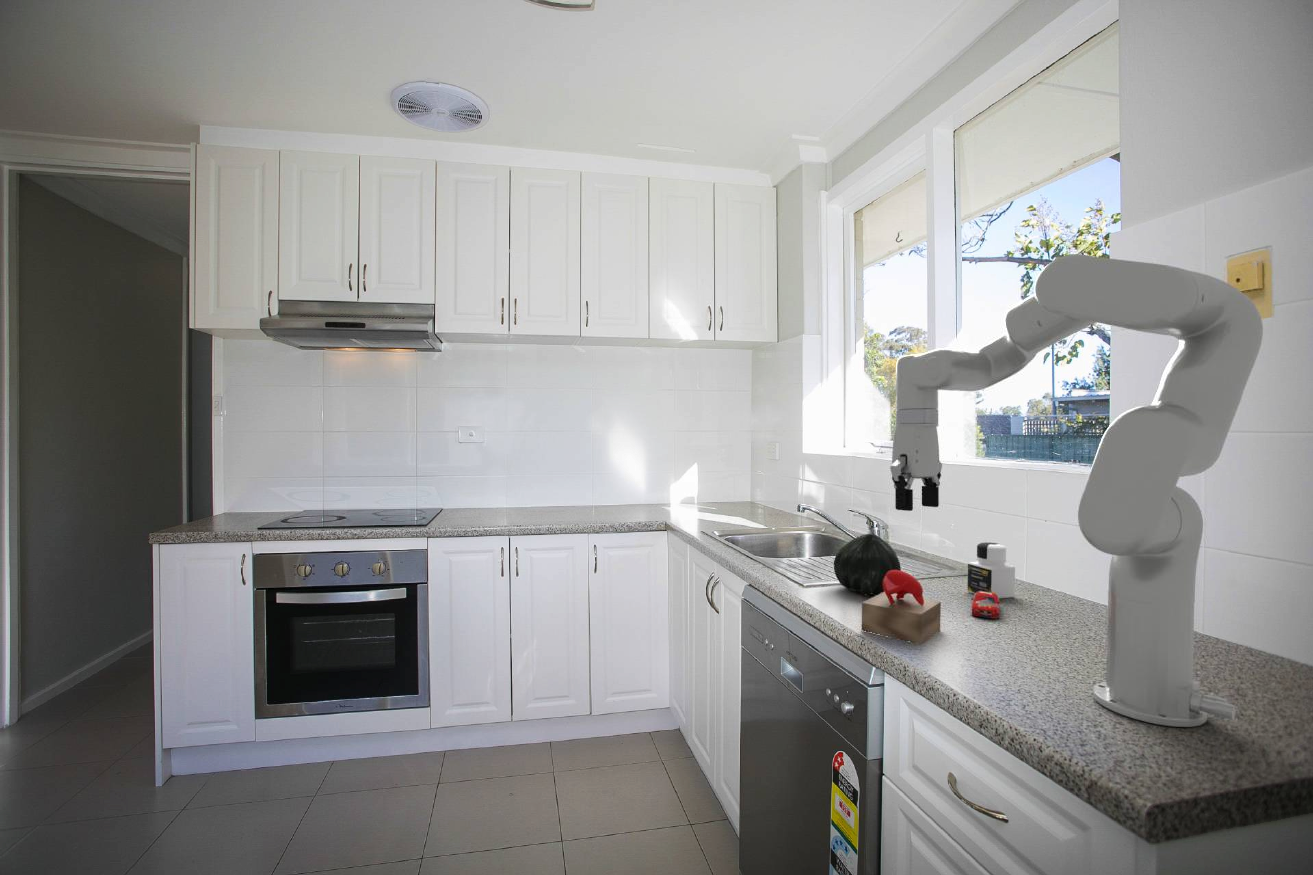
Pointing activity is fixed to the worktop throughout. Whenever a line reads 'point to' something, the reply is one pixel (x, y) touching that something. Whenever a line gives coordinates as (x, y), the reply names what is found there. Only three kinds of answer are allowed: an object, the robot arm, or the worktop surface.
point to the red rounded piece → (902, 586)
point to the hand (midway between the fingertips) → (917, 508)
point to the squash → (865, 564)
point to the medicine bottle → (991, 571)
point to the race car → (985, 605)
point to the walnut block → (901, 618)
